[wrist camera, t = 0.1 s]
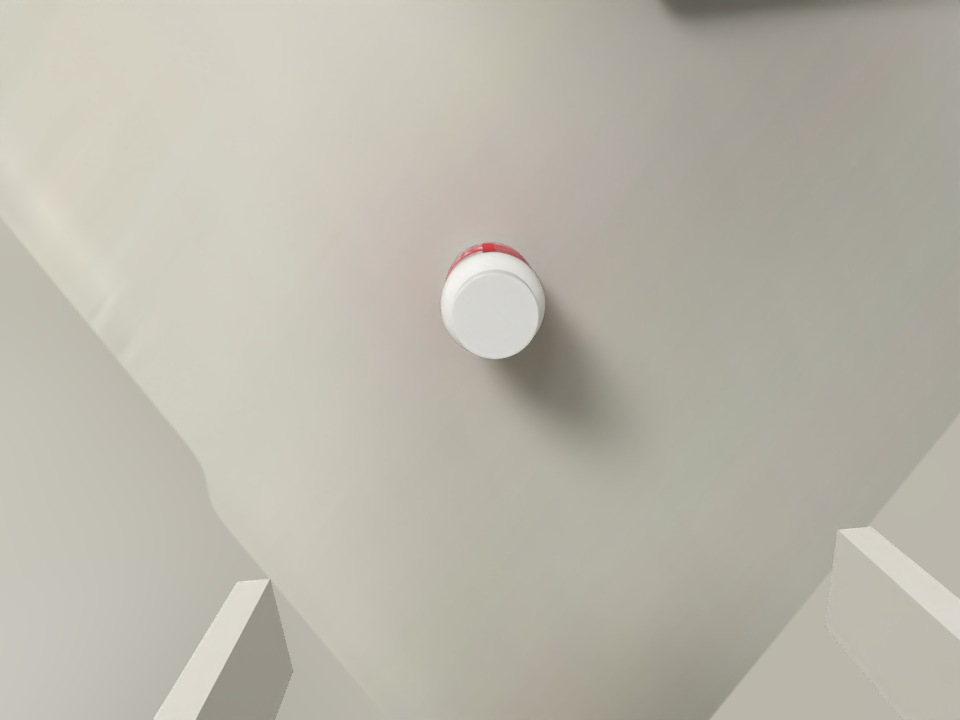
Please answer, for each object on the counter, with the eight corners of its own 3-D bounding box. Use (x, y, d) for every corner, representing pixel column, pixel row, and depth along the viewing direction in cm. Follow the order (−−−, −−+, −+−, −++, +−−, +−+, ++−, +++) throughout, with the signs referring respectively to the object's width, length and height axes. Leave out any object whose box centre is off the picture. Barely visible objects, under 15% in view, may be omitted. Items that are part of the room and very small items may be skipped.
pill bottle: (474, 224, 37) (475, 234, 26) (547, 269, 38) (577, 297, 27) (430, 299, 38) (415, 337, 28) (502, 341, 39) (513, 393, 29)
